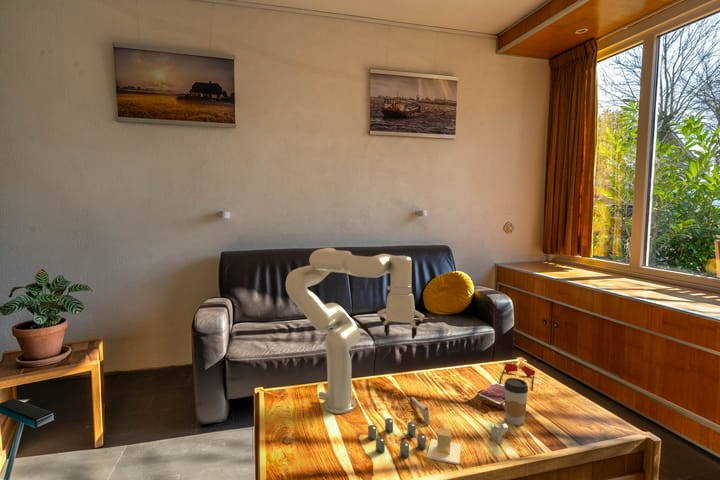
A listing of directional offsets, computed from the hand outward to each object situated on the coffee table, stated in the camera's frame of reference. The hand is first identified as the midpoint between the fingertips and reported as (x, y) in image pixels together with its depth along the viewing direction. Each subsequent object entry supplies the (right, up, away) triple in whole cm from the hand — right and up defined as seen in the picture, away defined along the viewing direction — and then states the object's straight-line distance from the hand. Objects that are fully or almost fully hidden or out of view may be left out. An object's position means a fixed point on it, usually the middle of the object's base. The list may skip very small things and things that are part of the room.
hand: (400, 336), depth 144 cm
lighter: (+32, -34, -11) cm, 48 cm away
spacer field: (-2, -33, -11) cm, 35 cm away
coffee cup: (+43, -33, +3) cm, 54 cm away
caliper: (+8, -32, +10) cm, 35 cm away
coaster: (+13, -34, -16) cm, 40 cm away
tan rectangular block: (+13, -33, -16) cm, 39 cm away
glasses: (+58, -30, +37) cm, 75 cm away
